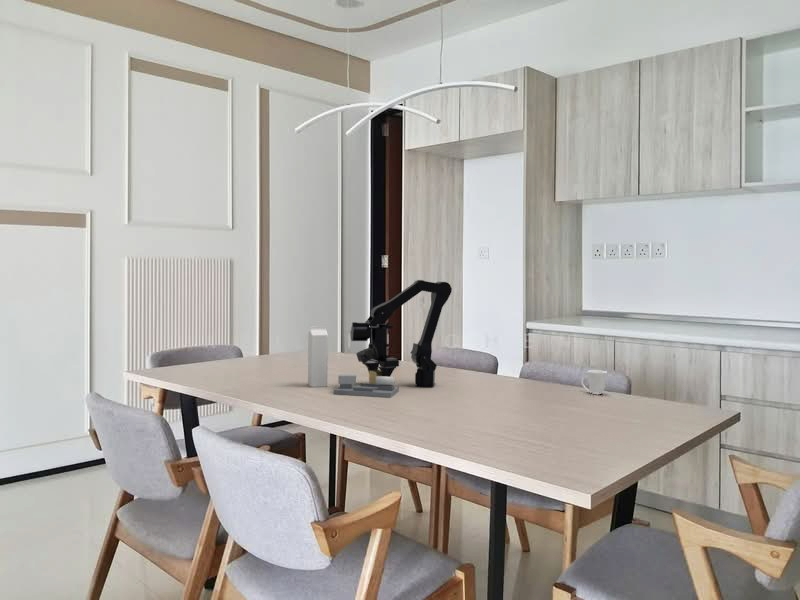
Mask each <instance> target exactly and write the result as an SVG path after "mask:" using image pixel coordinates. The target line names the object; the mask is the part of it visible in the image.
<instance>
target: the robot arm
mask: <svg viewBox="0 0 800 600" xmlns="http://www.w3.org/2000/svg"><path fill="white" fill-rule="evenodd" d="M452 289H453V288H452V285H451V284H450V283H449V282H447V281H437V282H431V281H426V280H422V279H417V280H415V281H414V282H413V283H412V284H410V285H409V286H408V287H406V288H405V289H403V290H402V291H401V292H400V293H398V294H396V295H395V296H394V297H392V298H391V299H390V300H387V301H385V302H382V303H380V304H378V305H377V306H374V307H372V309H371V310H370V315H369V316H368V318H367V319H366V321H365V322H355V321H354V322H351V328H350V331H349V333H350V340H351V342H368V340H369V339H371V340H370V341H371V343H368V347H366V348H365V349H362V350H360V351H358V352H356V357H357V360H358V362H360V363H362V364H363V365H364V366H365V367H366V368H367V370H368V372H369V370H375V369H377V370H381V371H382V376H386V377H392V374H393V372H394V371H395V369H397V367H400V360H398V358H395V357H390V355H389V354H388V348H390V343H388V330H390V329H393V328H394V327H393V326H392V325H391V324H390V322H389V321H388V320H389V319H390V318H391V317H392V316H393V315H394V313H395V312H396V311H397V309H399V308H400V307H402V306H403V305H405V304H406V303H407V302H409V301H410V300H411V299H413V298H415V296H417V295H418V294H420V293H421V292H425V293H430V307H429V309H428V313H427V317H426V320H425V322H424V325H423V329H422V332H421V337H420V338H419V341H418V342H417V343H415V342H414V343H412V349H411V351H410V354H411V360H412V362H413V363H414V364H415V366H416V372H415V375H414V376H415V377H414V378H415V380H414V381H415V382H414V383H415V387H421V388H422V387H423V388H424V387H425V388H428V387H429V388H433V387H435V386H436V383H435V382H436V379H435V377H436V370H437V366H438V365H437V364H436V362H435V361H433V359H432V355H433V354H432V352H433V351H432V349H433V347H432V346H433V345H432V342H433V340H434V336H435V333H436V330H437V326H438V322H439V321H440V317H441V314H442V311H443V307H444V306H445V304H446V303H447V301H448V300H449V298H450V297H451V294H452V291H453V290H452Z"/></svg>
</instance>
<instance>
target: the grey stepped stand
mask: <svg viewBox="0 0 800 600" xmlns="http://www.w3.org/2000/svg"><path fill="white" fill-rule="evenodd" d="M337 375H338V376H337V377H338V379H337V381H338V382H337V383H338V385H339V386H338V387H336V388H335V389H333V395H340V396H342V395H343V396H356V397H373V398H388V399H389V398H390V399H391V398H393V396H395V395H396V394H398V393H399V391H400V387H398V386H396V385H395V381H396V380H395V378H396V377H394V376H390V377H386V376H376V383H369V382H360V384H357V374H337Z"/></svg>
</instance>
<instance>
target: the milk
mask: <svg viewBox="0 0 800 600" xmlns="http://www.w3.org/2000/svg"><path fill="white" fill-rule="evenodd" d="M307 336H308V343H307V344H308V347H307V348H308V349H307V350H308V351H307V352H308V353H307V355H308V356H307V385H308V386H309V387H311V388H322V387H323V388H324V387H325V388H327V387H328V372H329V370H328V369H329V367H328V365H329V364H328V363H329V360H328V359H329V356H328V355H329V334H328V331H327V325H310V327H309V331H308V335H307Z"/></svg>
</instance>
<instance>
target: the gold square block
mask: <svg viewBox="0 0 800 600" xmlns="http://www.w3.org/2000/svg"><path fill="white" fill-rule="evenodd" d="M376 376H382V371H381V370H380V369H378V370H377V369H375V370H369V371H368V381H369V382H368V383H376Z"/></svg>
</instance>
